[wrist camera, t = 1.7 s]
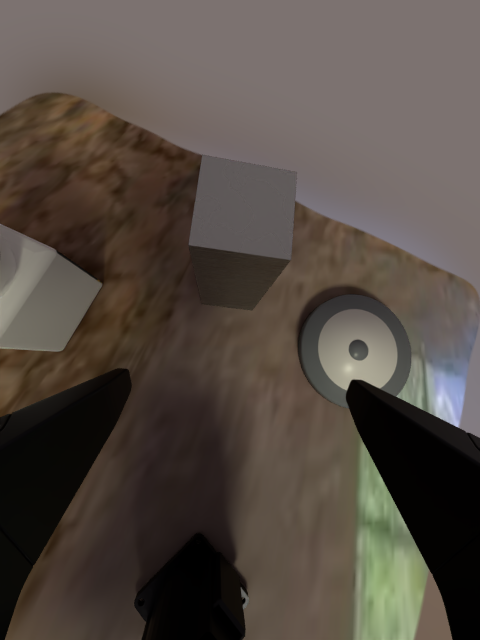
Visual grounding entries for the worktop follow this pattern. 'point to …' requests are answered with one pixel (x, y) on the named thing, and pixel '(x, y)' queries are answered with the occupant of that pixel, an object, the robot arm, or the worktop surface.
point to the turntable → (353, 347)
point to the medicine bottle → (40, 294)
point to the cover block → (240, 230)
